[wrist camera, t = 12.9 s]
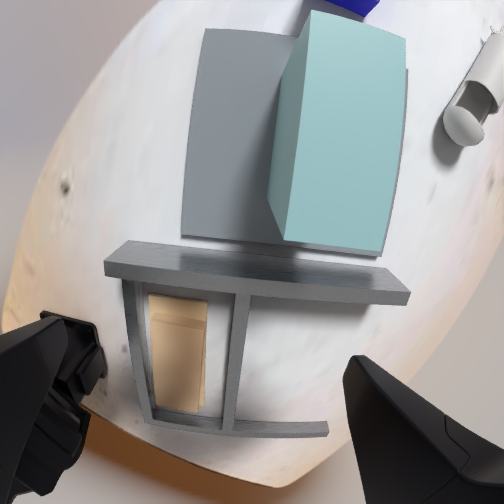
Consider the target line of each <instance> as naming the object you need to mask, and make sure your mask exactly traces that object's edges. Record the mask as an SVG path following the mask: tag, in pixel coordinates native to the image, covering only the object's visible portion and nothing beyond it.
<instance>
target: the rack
mask: <svg viewBox="0 0 504 504" xmlns="http://www.w3.org/2000/svg"><path fill="white" fill-rule="evenodd" d="M104 270H105V276H108V277H114V278H121V279H122V287H123V299H124V309H125V318H126V326H127V333H128V340H129V347H130V353H131V360H132V365H133V371H134V376H135V381H136V386H137V391H138V396H139V400H140V405H141V409H142V413H143V417H144V421H145V423H148V424H153V425H158V426H163V427H168V428H174V429H180V430H186V431H192V432H200V433H207V434H216V435H226V436H239V437H256V438H312V437H327V435H328V433H329V428H328V424H327V421H324V422H258V421H241V420H234V416H235V409H236V402H237V395H238V387H239V380H240V373H241V366H242V358H243V351H244V344H245V336H246V329H247V322H248V314H249V307H250V299H251V295H256V296H266V297H277V298H289V299H301V300H313V301H327V302H342V303H359V304H378V305H401V306H406V305H407V302H408V299H409V297H410V294H411V292H410V291H409V290H408V289H407V288H406V287H405V286H404V285H403V284H402V283H401V282H400V281H399V280H398V279H397V278H396V277H395V276H394V275H393V274H392V273H391V272H390V271H389V270H388V269H386V268H378V267H368V266H359V265H350V264H340V263H331V262H322V261H312V260H303V259H294V258H285V257H275V256H266V255H257V254H248V253H239V252H229V251H220V250H211V249H202V248H193V247H184V246H175V245H166V244H157V243H148V242H138V241H129V240H128V241H127V242H126V243H125V244H123V245H122V246H121V247H120V248H118V249H117V250H116V251H115V252H114V253H112V254H111V255H110V256H109V257H107V258H106V259H105V260H104ZM142 282H148V283H155V284H162V285H169V286H177V287H185V288H193V289H201V290H209V291H218V292H227V293H236V295H235V305H234V314H233V324H232V333H231V343H230V353H229V363H228V373H227V383H226V394H225V404H224V415H223V419H219V418H210V417H202V416H195V415H188V414H181V413H175V412H170V411H164V410H159V409H156V406H155V400H154V394H153V387H152V381H151V374H150V366H149V359H148V350H147V341H146V331H145V319H144V306H143V289H142Z"/></svg>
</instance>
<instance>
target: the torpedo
mask: <svg viewBox="0 0 504 504" xmlns="http://www.w3.org/2000/svg"><path fill="white" fill-rule="evenodd" d="M490 28H491V30H492V32H493V33H491V36H490V37H489V38H488V39H487V41H486V43H485V45H484V47H483V48H482V50H481V52H480V54H479V55H478V57H477V59H476V61H475V62H474V64H473V66H472V68H471V69H470V71H469V73H468V74H467V76H466V78H465V79H464V81H463V83H462V84H461V86H460V87H459V89H458V91H457V92H456V94H455V95H454V97H453V98H452V100H451V102H450V103H449V105H448V106H447V108H446V109H445V112H444V116H443V123H444V127H445V130H446V132H447V133H448V135H449V136H450V137H451V139H452V140H453V141H454V142H455V143H457V144H458V145H461V146H474V145H477V144H479V143H480V142H481V141H482V140H483V138H484V131H483V129H482V125H483V123H484V121H485V120H486V118H487V116H488V114H495V113H497V112H498V111H499V109H500V107H501V105H502V103H503V100H504V33H503V30H504V26H502V28H501V30H500V31H496V32H495V30H494V29H493V27H492V26H490Z"/></svg>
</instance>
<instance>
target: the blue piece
mask: <svg viewBox="0 0 504 504" xmlns="http://www.w3.org/2000/svg"><path fill="white" fill-rule="evenodd" d="M326 1H328V2H331V3H333V4H336V5H338V6H341V7H343V8H345V9H348V10H350V11H352V12H355V13H357V14H359V15H361V16H363V17H365V16H366V15H367V14H368V13H369V12H370V11H371V10H372V9H373V8H374V7H375V6H376V5H377V4H378V3H379V1H380V0H326Z"/></svg>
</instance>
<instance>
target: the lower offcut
mask: <svg viewBox="0 0 504 504" xmlns="http://www.w3.org/2000/svg"><path fill="white" fill-rule="evenodd" d="M148 303H149V318H150V320H151V319H152V317H153V315H154V313H155V312H157V313H162V314H168V315H173V316H178V317H184V318H190V319H195V320H201V321H206V326H207V305H208V301H204V300H195V299H187V298H179V297H172V296H164V295H157V294H150V293H149V295H148ZM150 331H151V323H150ZM205 352H206V329H205V340H204V351H203V362H202V375H201V388H200V402H199V407H204V394H205Z"/></svg>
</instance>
